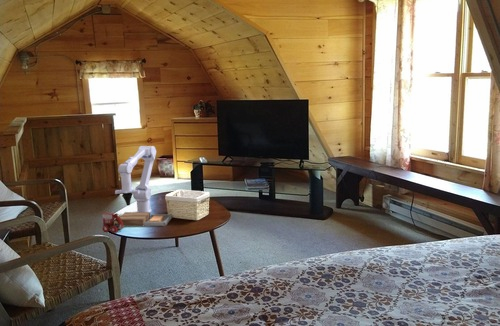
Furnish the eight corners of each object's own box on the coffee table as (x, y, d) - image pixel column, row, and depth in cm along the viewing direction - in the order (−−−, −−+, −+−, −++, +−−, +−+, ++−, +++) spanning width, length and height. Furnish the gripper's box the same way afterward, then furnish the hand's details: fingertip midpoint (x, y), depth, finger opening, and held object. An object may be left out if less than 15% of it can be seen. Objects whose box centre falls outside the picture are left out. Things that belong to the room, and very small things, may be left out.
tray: (151, 218, 269) (151, 214, 268) (172, 218, 267) (171, 214, 267) (143, 226, 254) (143, 222, 254) (165, 226, 253) (165, 222, 252)
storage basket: (165, 217, 269) (163, 194, 266) (180, 210, 283) (178, 188, 280) (198, 222, 259) (196, 198, 256) (211, 214, 273) (210, 191, 270)
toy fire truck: (119, 233, 243) (117, 215, 241) (100, 232, 246) (98, 214, 244) (126, 229, 250) (124, 212, 248) (107, 228, 253) (105, 211, 251)
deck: (125, 218, 270) (125, 212, 269) (150, 218, 268) (150, 212, 267) (117, 226, 256) (116, 219, 255) (143, 225, 255) (142, 219, 254)
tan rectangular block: (163, 215, 264) (163, 218, 265) (153, 215, 265) (154, 218, 265) (159, 220, 255) (159, 223, 256) (149, 220, 256) (149, 223, 256)
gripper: (112, 185, 258) (114, 207, 260) (135, 184, 256) (137, 206, 259) (116, 182, 264) (118, 203, 267) (139, 182, 263) (141, 203, 266)
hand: (128, 205), depth 263 cm, fingers closed
